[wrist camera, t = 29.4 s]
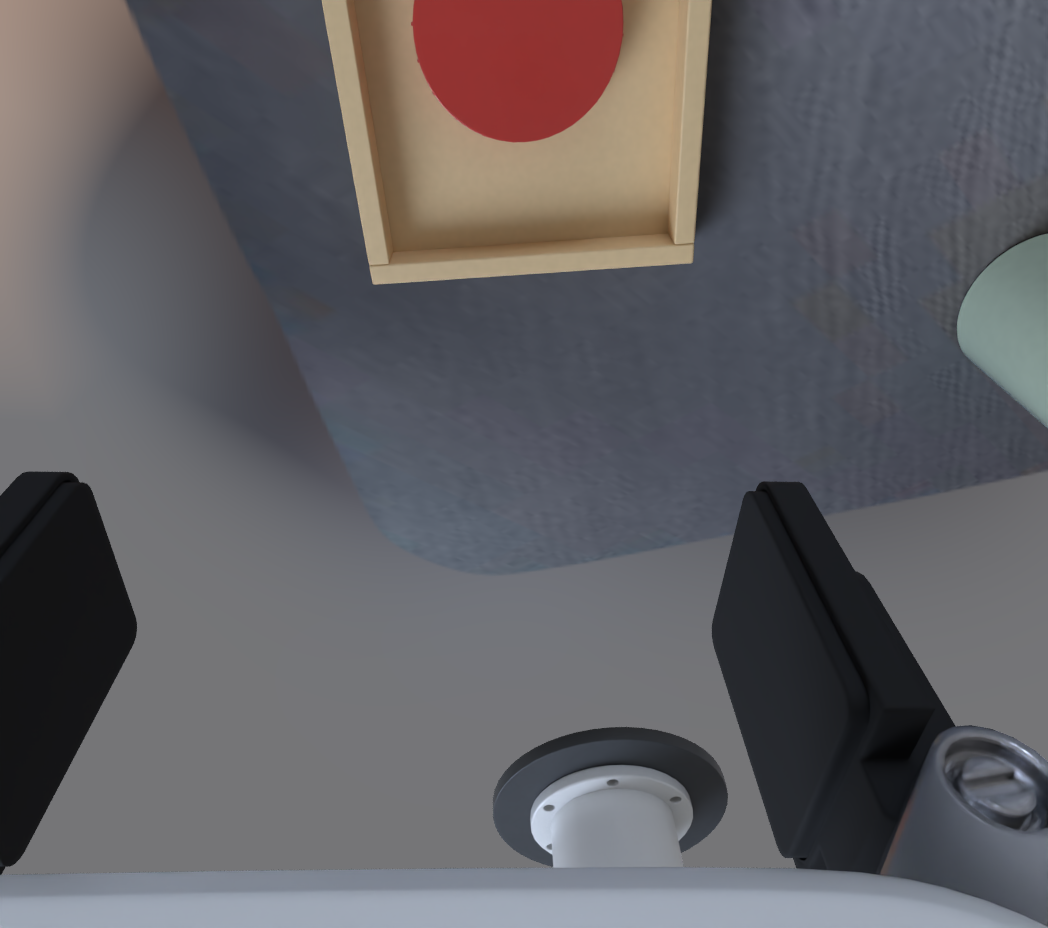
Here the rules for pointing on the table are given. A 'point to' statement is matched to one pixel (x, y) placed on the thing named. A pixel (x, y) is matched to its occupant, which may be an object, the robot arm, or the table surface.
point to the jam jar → (1011, 324)
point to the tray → (523, 156)
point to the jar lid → (518, 61)
